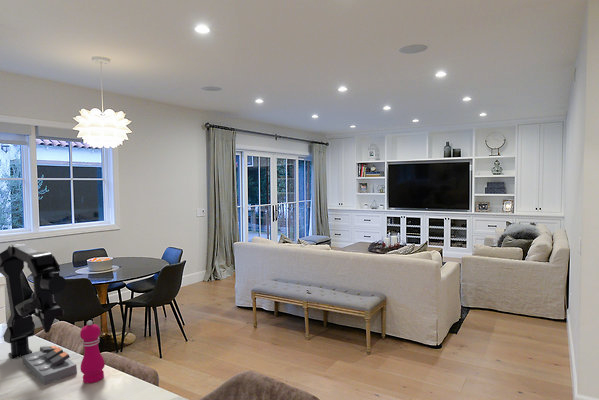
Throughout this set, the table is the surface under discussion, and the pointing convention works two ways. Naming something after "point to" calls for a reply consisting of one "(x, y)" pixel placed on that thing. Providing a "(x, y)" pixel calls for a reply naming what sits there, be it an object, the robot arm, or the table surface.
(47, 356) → the rocker middle
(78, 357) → the table surface
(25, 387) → the table surface
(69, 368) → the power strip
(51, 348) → the rocker inner
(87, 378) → the pepper mill
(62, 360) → the rocker outer
